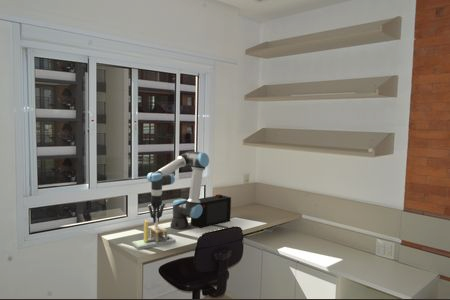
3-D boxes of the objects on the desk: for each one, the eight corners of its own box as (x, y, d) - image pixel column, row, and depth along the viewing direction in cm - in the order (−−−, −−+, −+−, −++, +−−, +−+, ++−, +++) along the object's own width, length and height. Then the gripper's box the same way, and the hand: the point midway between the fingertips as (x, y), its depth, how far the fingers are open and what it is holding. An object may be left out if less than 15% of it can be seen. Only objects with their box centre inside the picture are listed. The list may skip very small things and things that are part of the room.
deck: (168, 237, 260) (168, 234, 260) (175, 242, 251) (175, 239, 251) (131, 244, 244) (131, 241, 244) (137, 249, 234) (137, 246, 234)
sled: (161, 236, 254) (161, 217, 253) (165, 239, 249) (165, 219, 247) (142, 240, 246) (143, 219, 245) (146, 243, 240) (146, 222, 239)
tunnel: (159, 236, 256) (160, 225, 256) (166, 241, 247) (167, 229, 246) (149, 238, 252) (150, 227, 251) (156, 243, 242) (156, 231, 241)
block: (160, 236, 252) (160, 229, 252) (163, 238, 248) (163, 231, 248) (153, 237, 250) (153, 230, 249) (156, 239, 246) (156, 232, 245)
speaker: (189, 224, 297) (189, 196, 295) (218, 217, 321) (219, 192, 319) (200, 228, 285) (201, 200, 284) (230, 221, 310) (231, 195, 308)
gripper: (162, 193, 252) (162, 224, 254) (146, 194, 245) (145, 226, 246) (167, 195, 246) (166, 226, 248) (150, 196, 238) (149, 229, 240)
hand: (156, 226), depth 247 cm, fingers closed
